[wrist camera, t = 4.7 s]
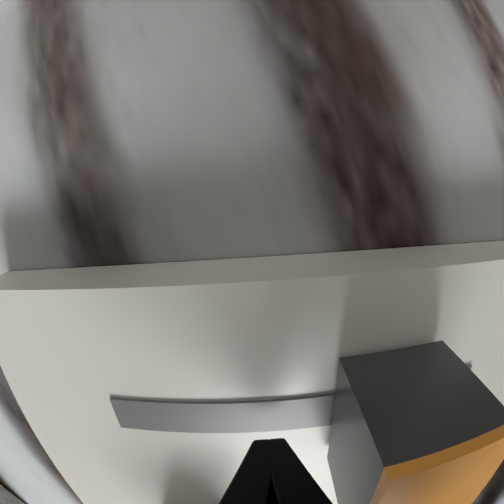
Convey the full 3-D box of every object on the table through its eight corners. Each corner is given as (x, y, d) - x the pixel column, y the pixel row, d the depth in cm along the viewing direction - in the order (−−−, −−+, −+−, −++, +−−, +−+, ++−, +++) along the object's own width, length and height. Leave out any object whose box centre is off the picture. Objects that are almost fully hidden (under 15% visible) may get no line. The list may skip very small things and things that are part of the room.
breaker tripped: (442, 340, 7) (522, 427, 4) (412, 439, 8) (454, 523, 5) (338, 357, 7) (389, 480, 4) (326, 458, 8) (349, 557, 5)
